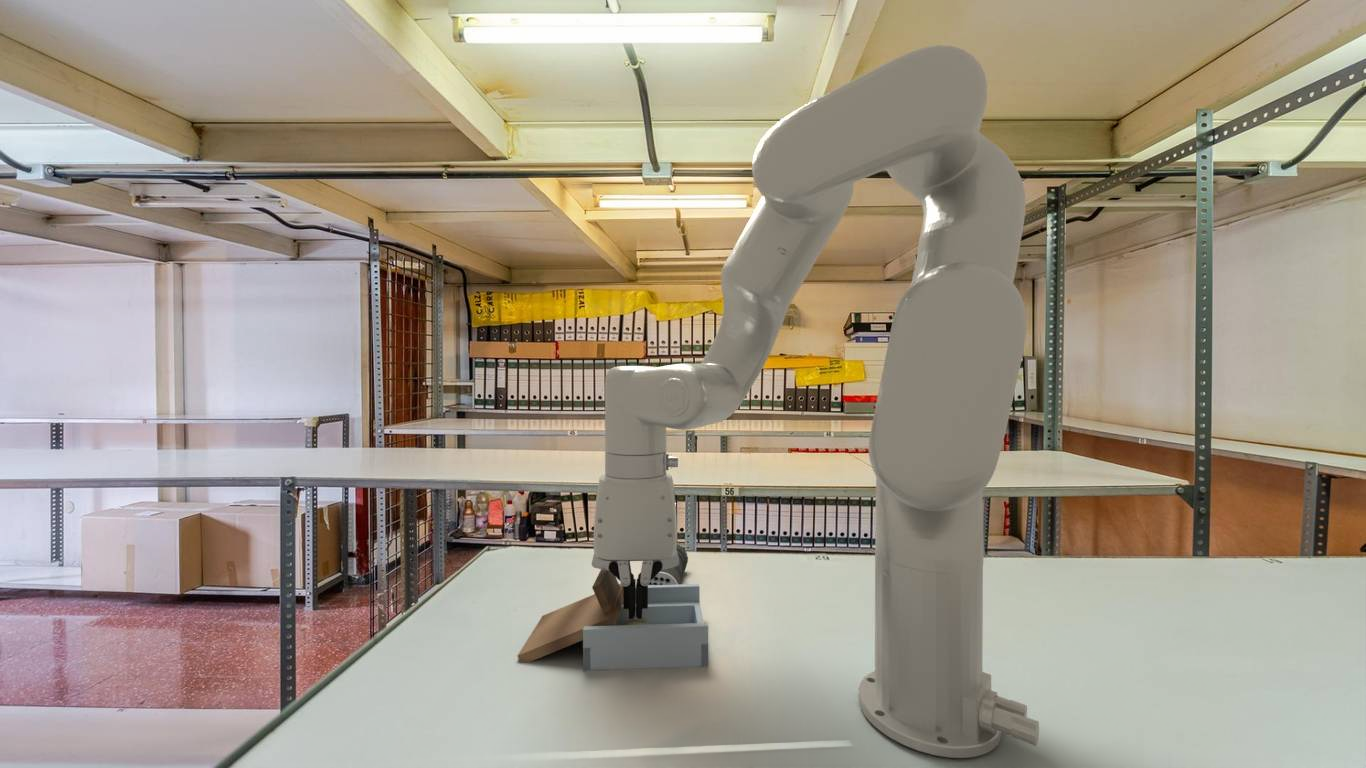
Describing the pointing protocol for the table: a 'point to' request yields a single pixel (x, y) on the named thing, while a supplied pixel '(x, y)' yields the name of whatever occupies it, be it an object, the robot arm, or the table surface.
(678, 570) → the flashlight
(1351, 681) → the table surface
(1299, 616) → the table surface
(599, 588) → the cover plate
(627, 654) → the light grey open box
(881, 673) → the robot arm
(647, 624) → the brass disc
